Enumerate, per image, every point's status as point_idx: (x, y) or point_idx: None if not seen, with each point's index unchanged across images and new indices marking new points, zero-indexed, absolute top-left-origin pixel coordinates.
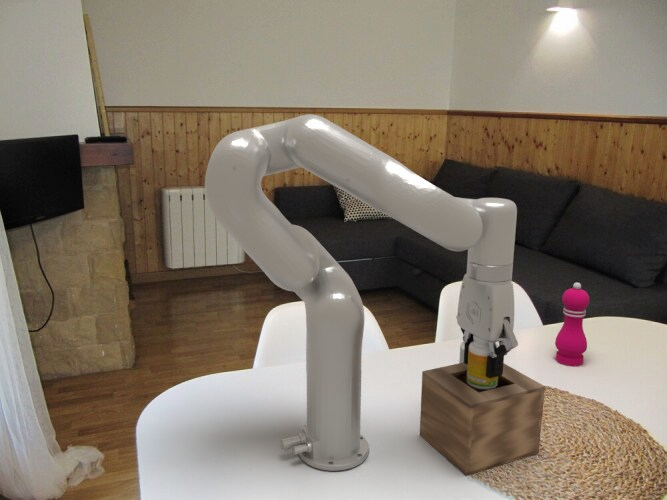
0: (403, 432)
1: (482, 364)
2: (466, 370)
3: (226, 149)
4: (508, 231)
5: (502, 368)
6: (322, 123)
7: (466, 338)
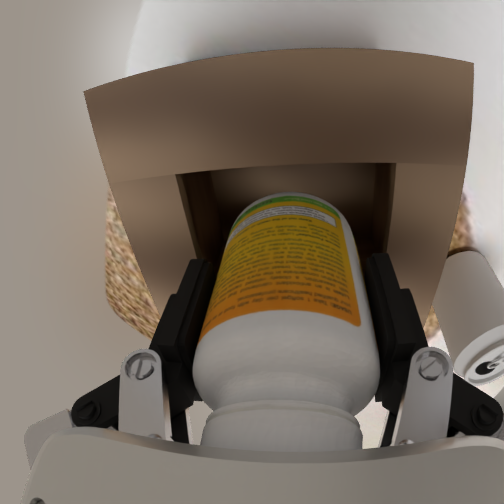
0: (405, 24)
1: (218, 291)
2: (387, 246)
3: None
4: None
5: None
6: None
7: (417, 377)
